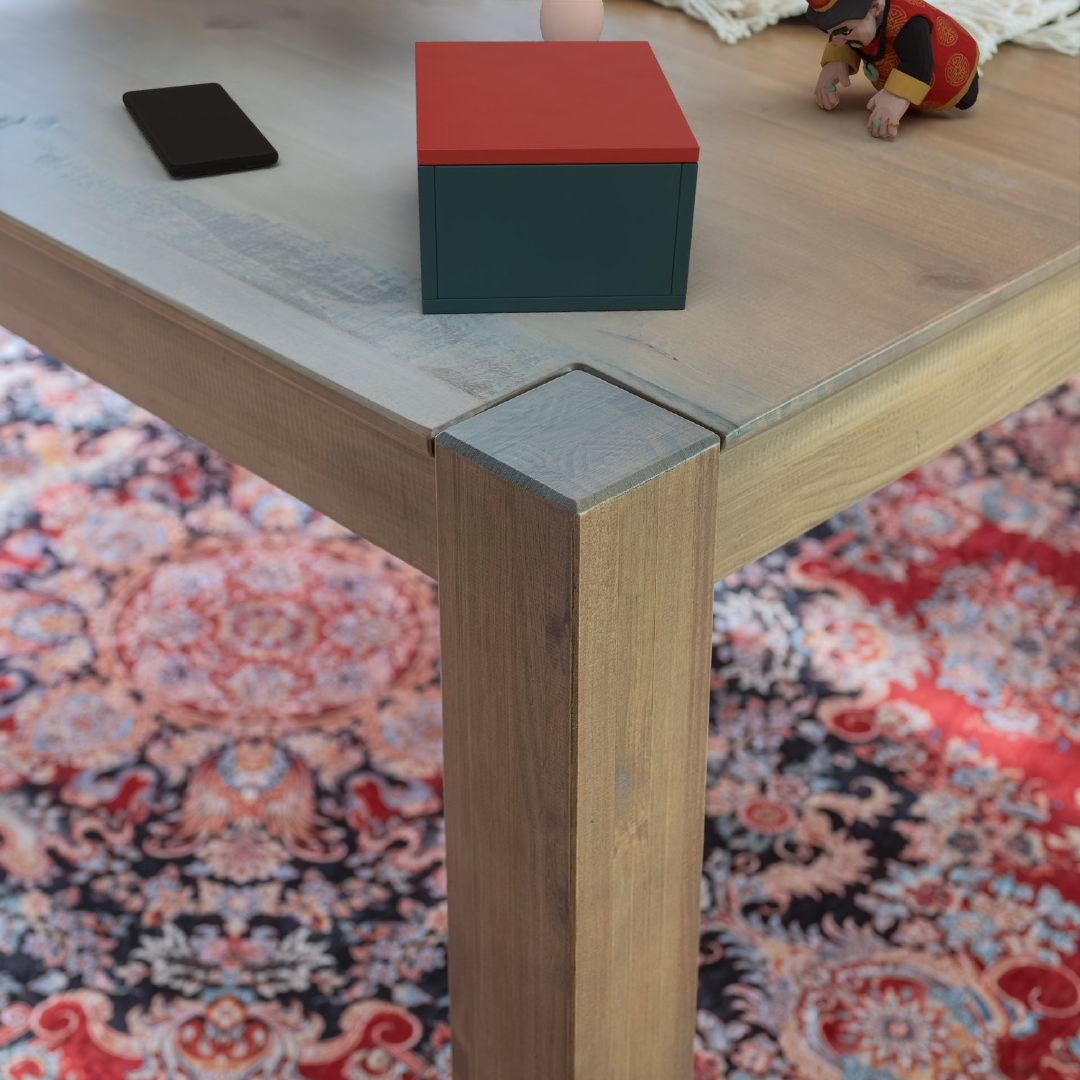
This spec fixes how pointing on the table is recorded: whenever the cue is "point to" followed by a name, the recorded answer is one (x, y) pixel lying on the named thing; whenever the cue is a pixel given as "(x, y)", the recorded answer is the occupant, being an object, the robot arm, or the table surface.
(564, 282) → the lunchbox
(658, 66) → the lid
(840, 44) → the figurine
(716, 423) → the table surface
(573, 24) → the egg
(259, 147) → the smartphone
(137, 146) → the table surface
